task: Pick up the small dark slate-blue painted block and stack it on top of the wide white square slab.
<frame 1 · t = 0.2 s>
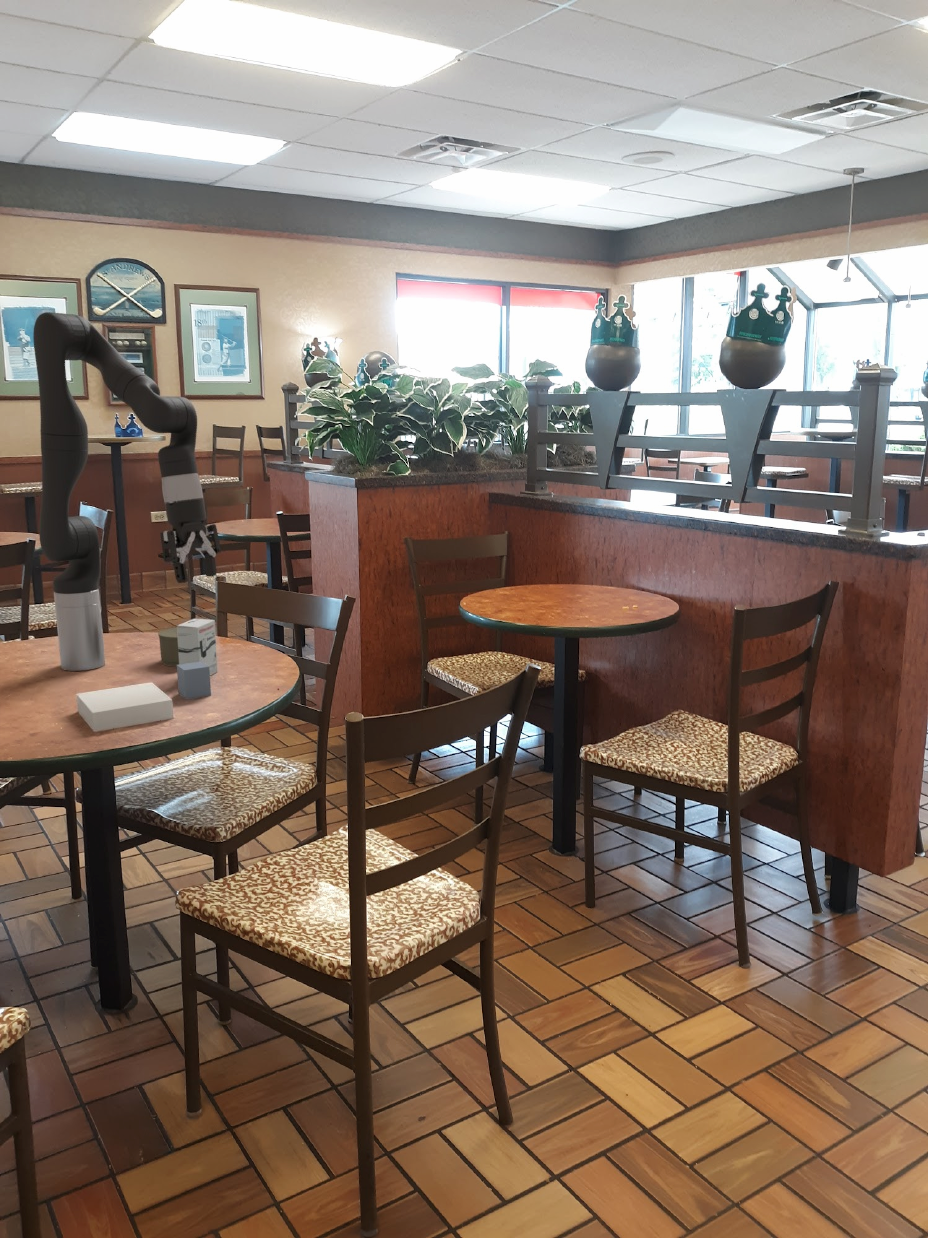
hand: (197, 579, 194), 22 cm above the table, tool pointing down, fingers open, 8 cm apart
white square slab: (125, 717, 180), on the table
slate block: (194, 694, 193), on the table
ink box: (199, 677, 206), on the table
can: (188, 661, 220), on the table
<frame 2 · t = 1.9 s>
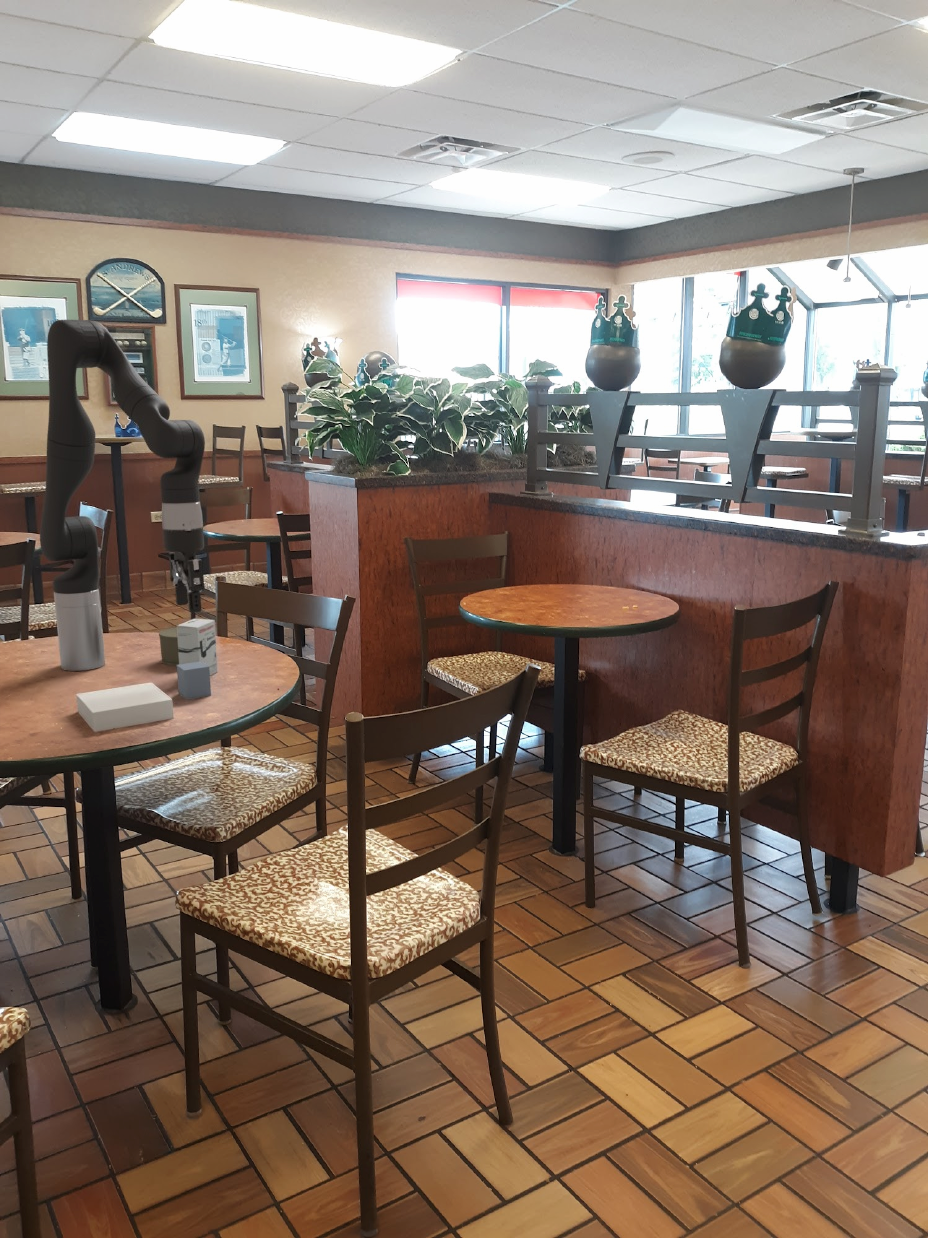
hand: (188, 608, 189), 18 cm above the table, tool pointing down, fingers open, 8 cm apart
nothing on the table moved.
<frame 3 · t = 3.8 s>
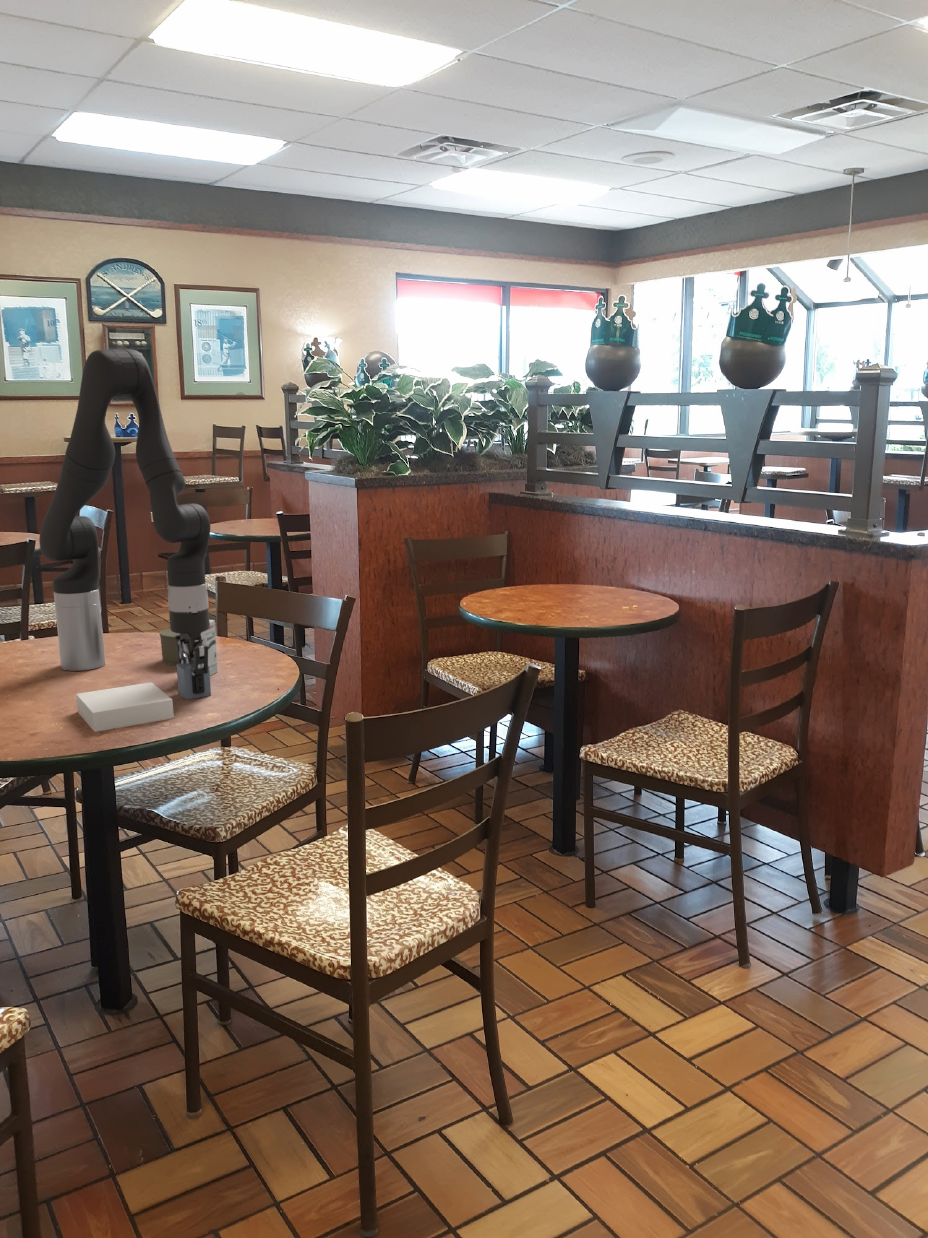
hand: (194, 689, 193), 1 cm above the table, tool pointing down, fingers closed on slate block, 5 cm apart
slate block: (194, 694, 193), on the table, touching gripper
everything else where it was.
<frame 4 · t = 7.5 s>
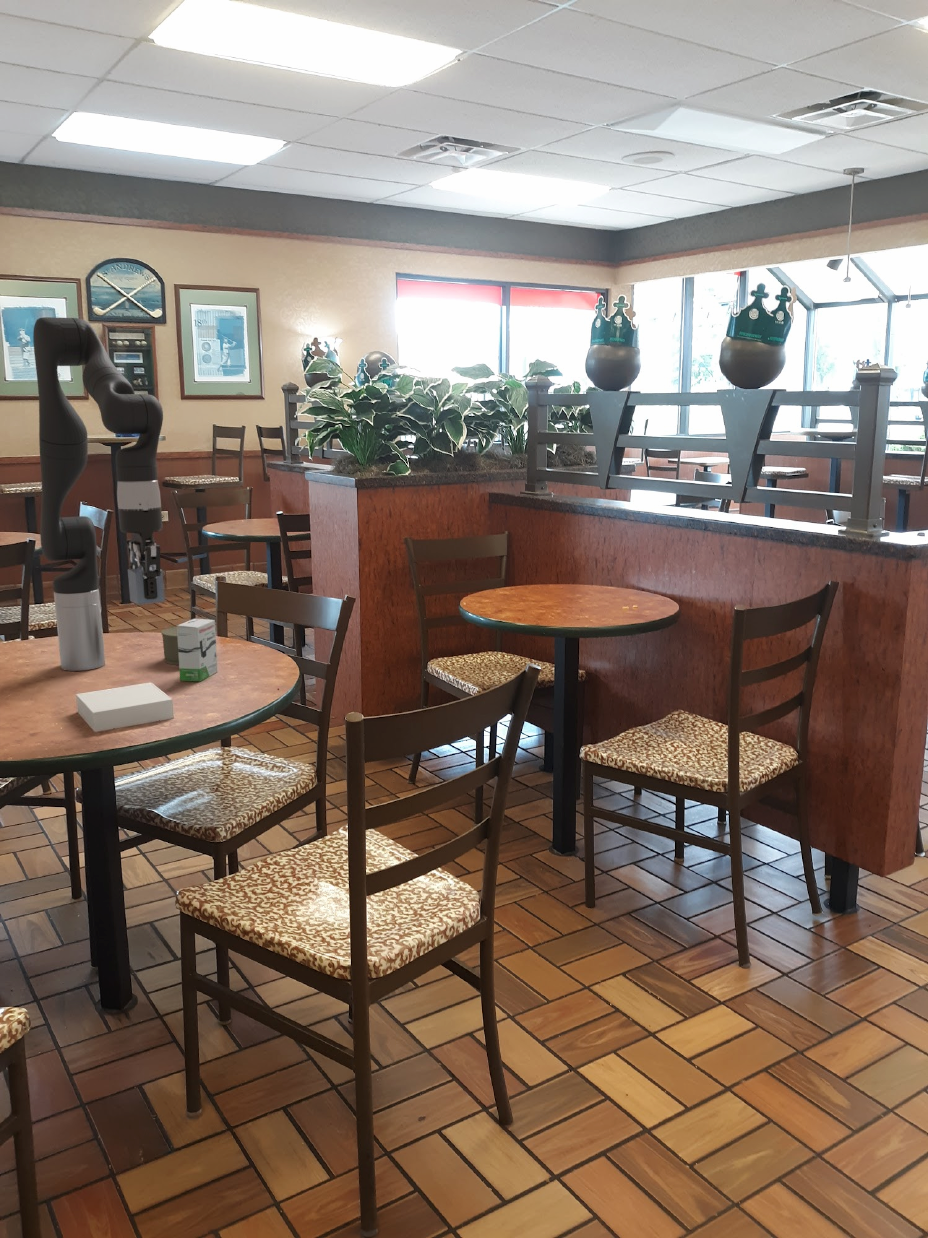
hand: (146, 596, 181), 22 cm above the table, tool pointing down, fingers closed on slate block, 5 cm apart
slate block: (147, 601, 181), point 21 cm above the table, touching gripper
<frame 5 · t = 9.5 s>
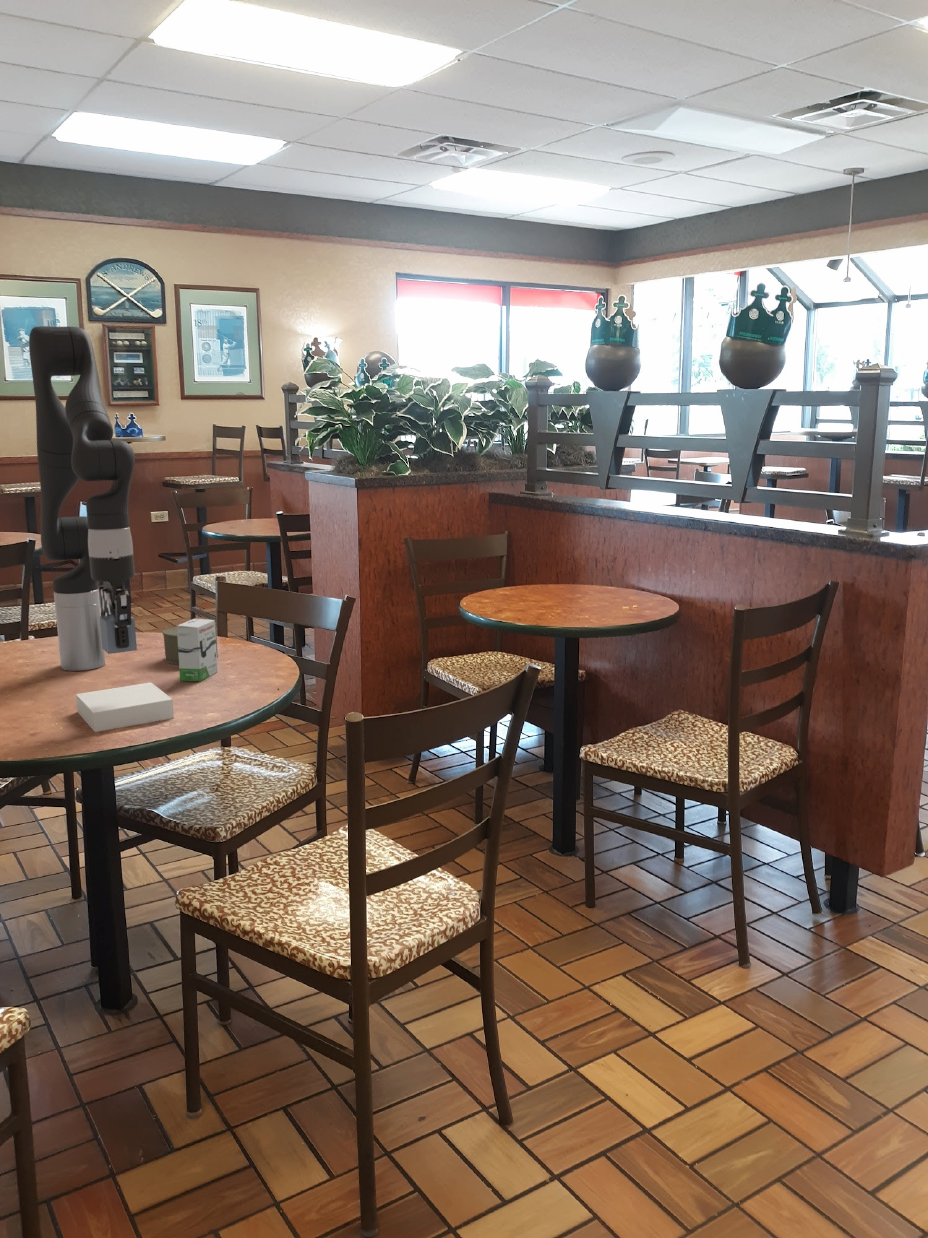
hand: (119, 644, 177), 14 cm above the table, tool pointing down, fingers closed on slate block, 5 cm apart
slate block: (119, 649, 177), point 13 cm above the table, touching gripper
when the fingers open (6 cm above the table, at t = 11.3 s): slate block drops 2 cm, point 3 cm above the table.
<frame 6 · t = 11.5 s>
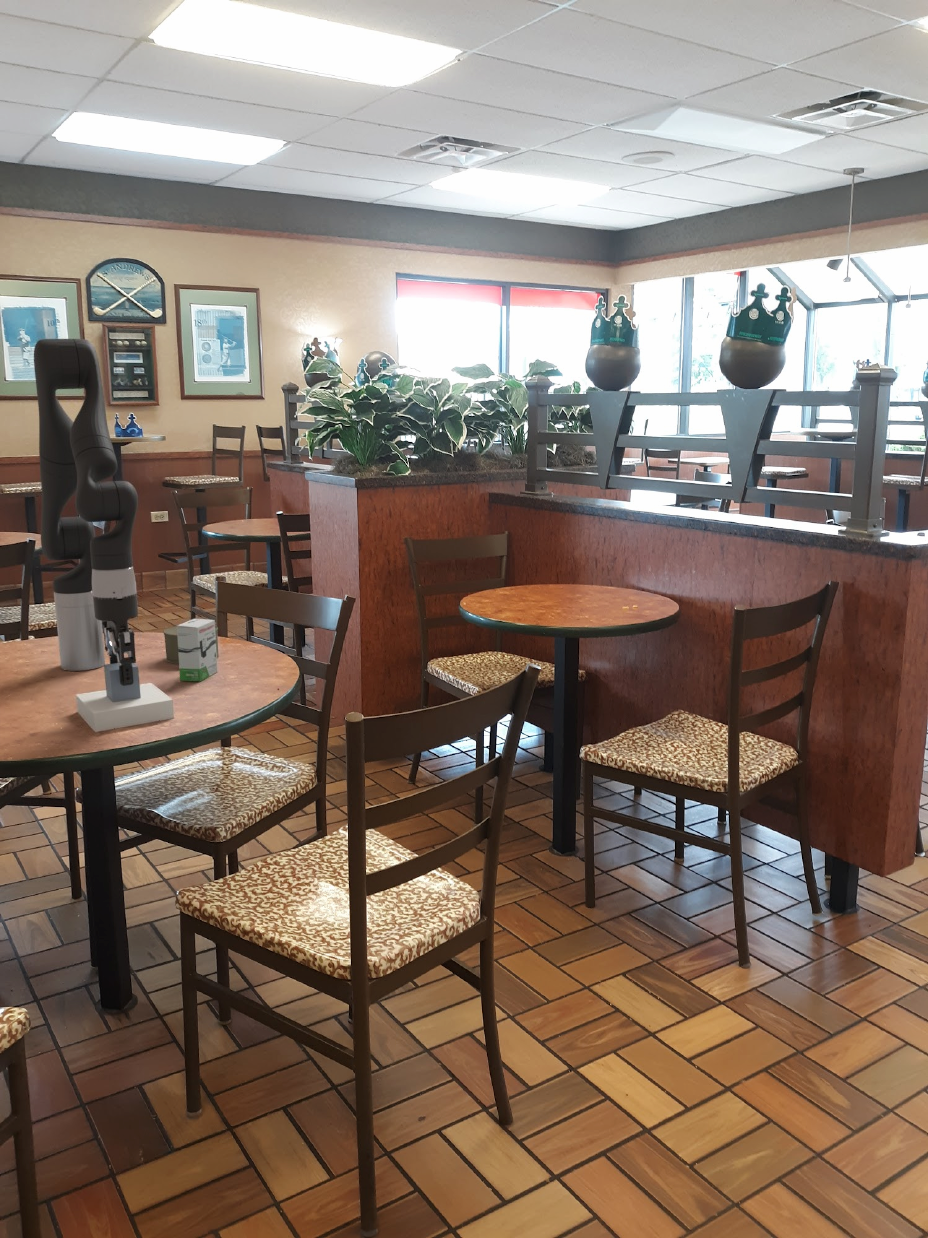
hand: (122, 680, 179), 7 cm above the table, tool pointing down, fingers open, 6 cm apart
slate block: (123, 696, 179), point 3 cm above the table
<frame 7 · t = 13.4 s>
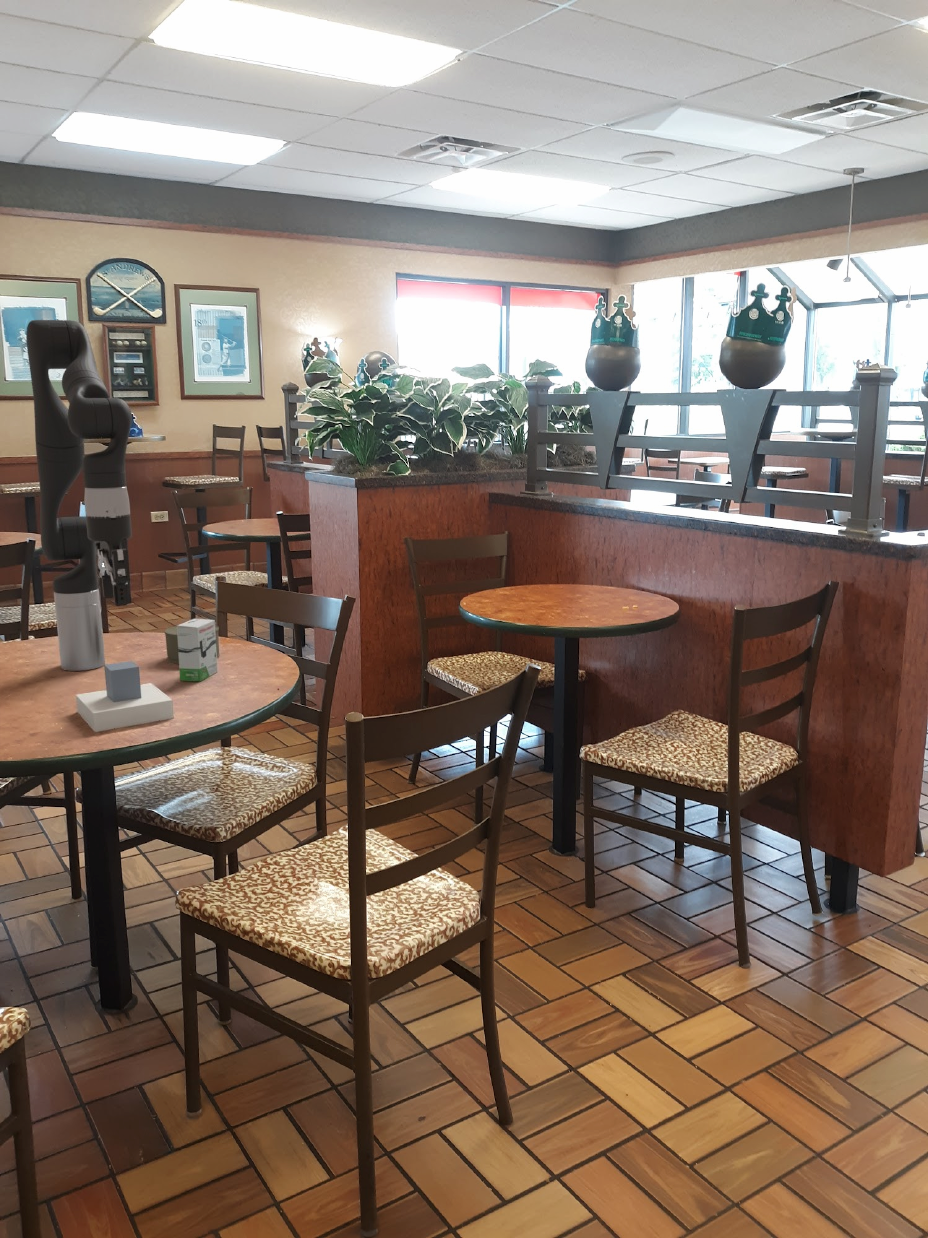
hand: (115, 601, 176), 22 cm above the table, tool pointing down, fingers open, 8 cm apart
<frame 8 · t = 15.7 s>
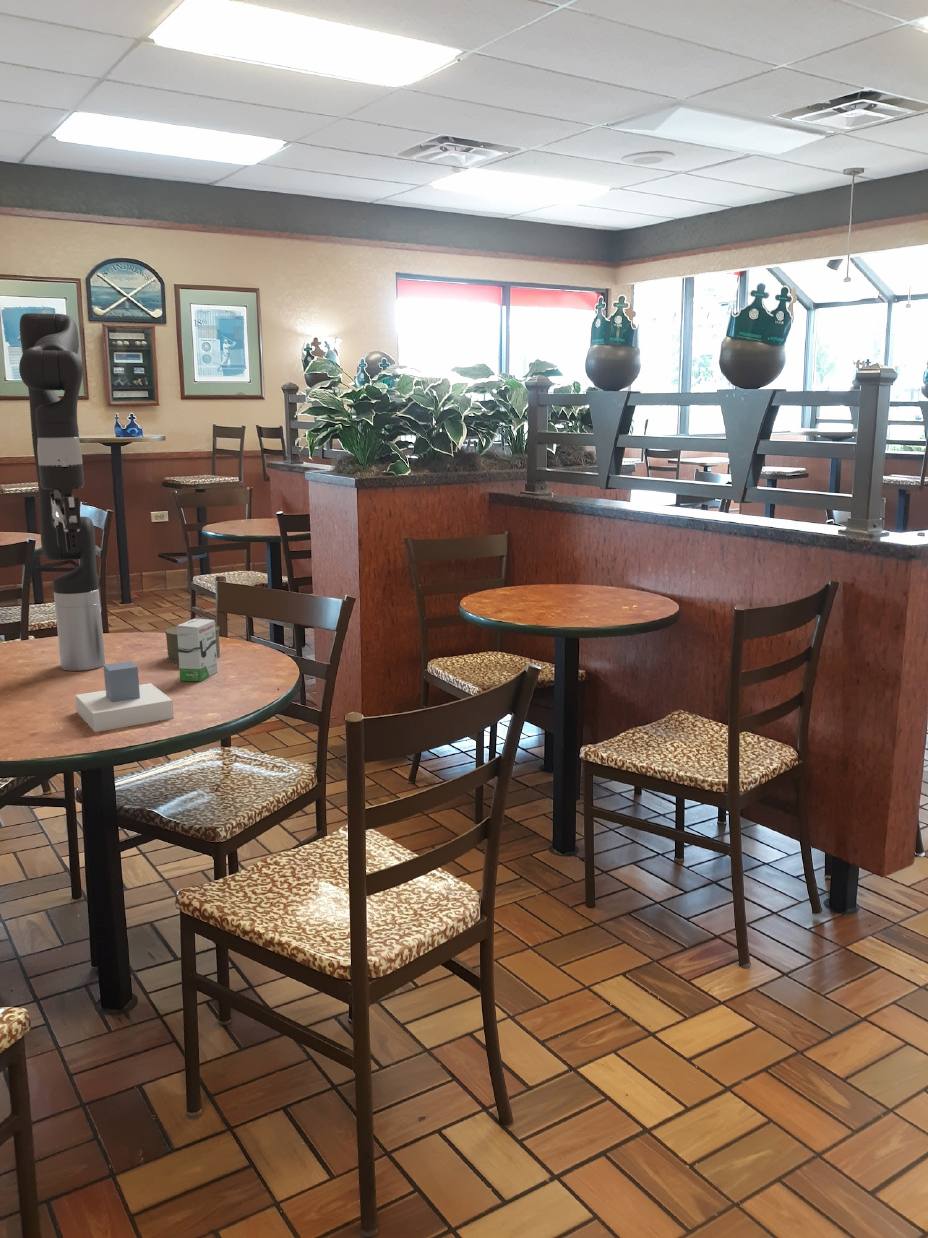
hand: (68, 549, 181), 30 cm above the table, tool pointing down, fingers open, 8 cm apart
white square slab: (125, 718, 180), on the table, touching slate block
slate block: (123, 697, 180), point 3 cm above the table, touching white square slab
at the end: slate block inside the target area on the white square slab (0.4 cm from its centre), point 4.0 cm above the white square slab's base; slate block tilted 0°; the gripper is holding nothing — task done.
